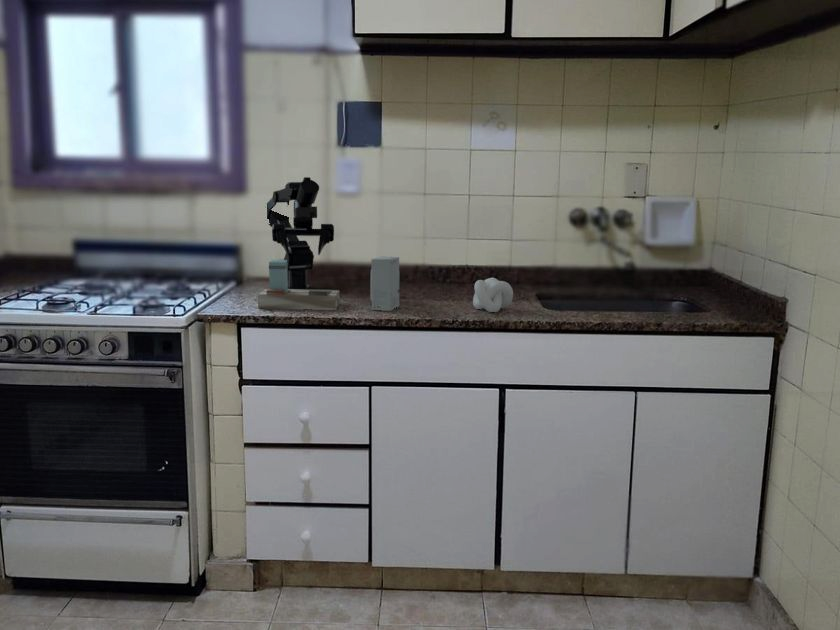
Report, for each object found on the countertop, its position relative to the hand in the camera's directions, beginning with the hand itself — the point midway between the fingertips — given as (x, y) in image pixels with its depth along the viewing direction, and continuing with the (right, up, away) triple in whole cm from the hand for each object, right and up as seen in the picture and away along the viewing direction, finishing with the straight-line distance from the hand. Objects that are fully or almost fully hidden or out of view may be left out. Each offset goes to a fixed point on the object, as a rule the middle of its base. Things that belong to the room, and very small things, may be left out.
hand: (303, 254), depth 230 cm
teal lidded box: (-6, -15, -9) cm, 18 cm away
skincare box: (+25, -17, -10) cm, 32 cm away
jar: (+25, -14, +1) cm, 28 cm away
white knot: (+56, -17, -10) cm, 60 cm away
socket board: (0, -16, -9) cm, 18 cm away
